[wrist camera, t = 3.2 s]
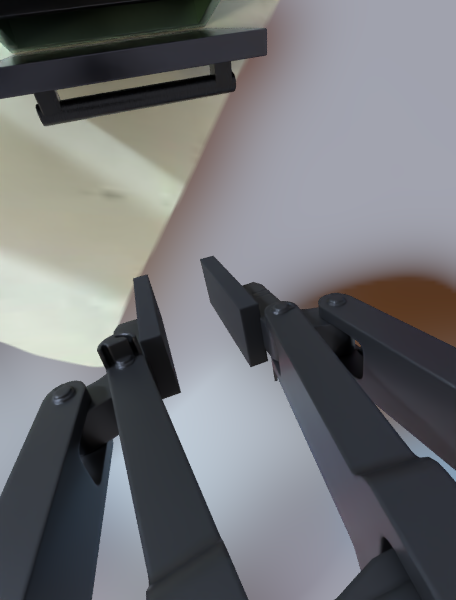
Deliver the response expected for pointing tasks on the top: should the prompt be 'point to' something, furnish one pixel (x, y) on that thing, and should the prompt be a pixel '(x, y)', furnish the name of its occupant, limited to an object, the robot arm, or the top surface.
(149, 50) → the oven door
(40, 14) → the oven
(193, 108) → the top surface
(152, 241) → the top surface
